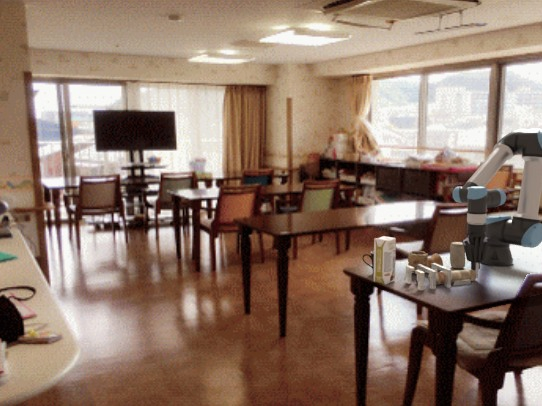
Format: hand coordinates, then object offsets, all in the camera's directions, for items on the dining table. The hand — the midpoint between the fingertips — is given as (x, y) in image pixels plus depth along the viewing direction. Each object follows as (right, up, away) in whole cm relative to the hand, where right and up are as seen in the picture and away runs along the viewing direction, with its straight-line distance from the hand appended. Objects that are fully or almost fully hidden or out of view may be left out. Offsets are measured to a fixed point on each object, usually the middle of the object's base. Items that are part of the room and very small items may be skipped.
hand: (475, 277), depth 211 cm
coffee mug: (-39, 0, +12) cm, 41 cm away
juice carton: (-39, -2, 0) cm, 39 cm away
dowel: (-11, -2, -3) cm, 11 cm away
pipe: (-18, 0, +12) cm, 21 cm away
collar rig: (-17, -2, -4) cm, 18 cm away
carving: (0, +1, +20) cm, 20 cm away
